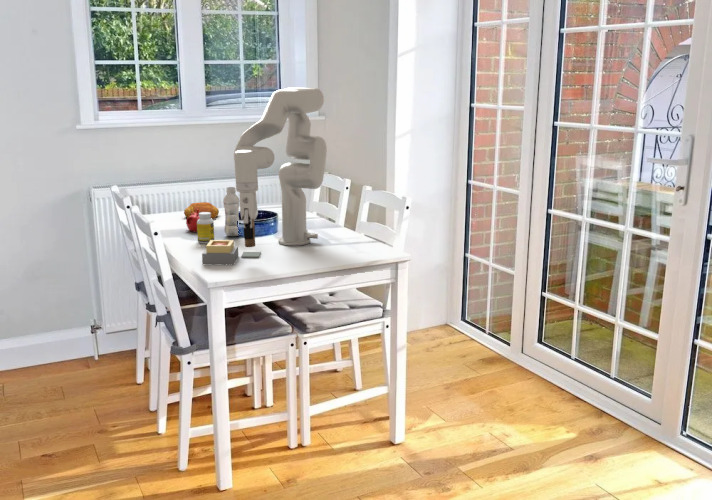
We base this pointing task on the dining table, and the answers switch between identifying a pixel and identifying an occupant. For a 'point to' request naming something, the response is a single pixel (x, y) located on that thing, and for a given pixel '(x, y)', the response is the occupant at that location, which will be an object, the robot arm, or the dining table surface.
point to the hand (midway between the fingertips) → (249, 236)
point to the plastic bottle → (231, 212)
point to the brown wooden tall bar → (251, 241)
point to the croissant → (201, 209)
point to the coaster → (251, 255)
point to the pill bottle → (205, 227)
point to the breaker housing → (220, 253)
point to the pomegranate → (193, 221)
